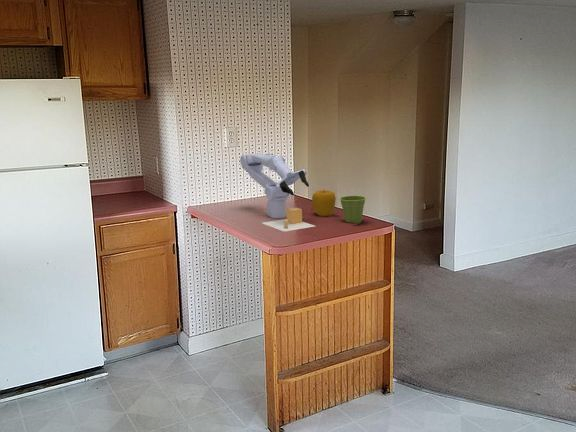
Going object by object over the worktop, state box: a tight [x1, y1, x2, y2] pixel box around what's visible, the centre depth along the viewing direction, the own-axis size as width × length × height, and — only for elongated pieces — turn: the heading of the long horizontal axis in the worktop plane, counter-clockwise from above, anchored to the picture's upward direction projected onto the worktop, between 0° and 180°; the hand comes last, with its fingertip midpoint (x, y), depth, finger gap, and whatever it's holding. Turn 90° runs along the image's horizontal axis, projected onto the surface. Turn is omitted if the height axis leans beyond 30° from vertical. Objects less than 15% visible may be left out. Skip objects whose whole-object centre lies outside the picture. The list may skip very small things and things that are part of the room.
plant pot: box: [339, 195, 367, 225], centre depth 255 cm, size 12×12×11 cm
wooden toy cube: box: [286, 206, 303, 224], centre depth 255 cm, size 5×5×6 cm
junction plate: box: [261, 218, 315, 232], centre depth 252 cm, size 20×16×4 cm
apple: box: [311, 189, 337, 217], centre depth 268 cm, size 11×11×13 cm
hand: (300, 189), depth 248 cm, fingers open, 7 cm apart
